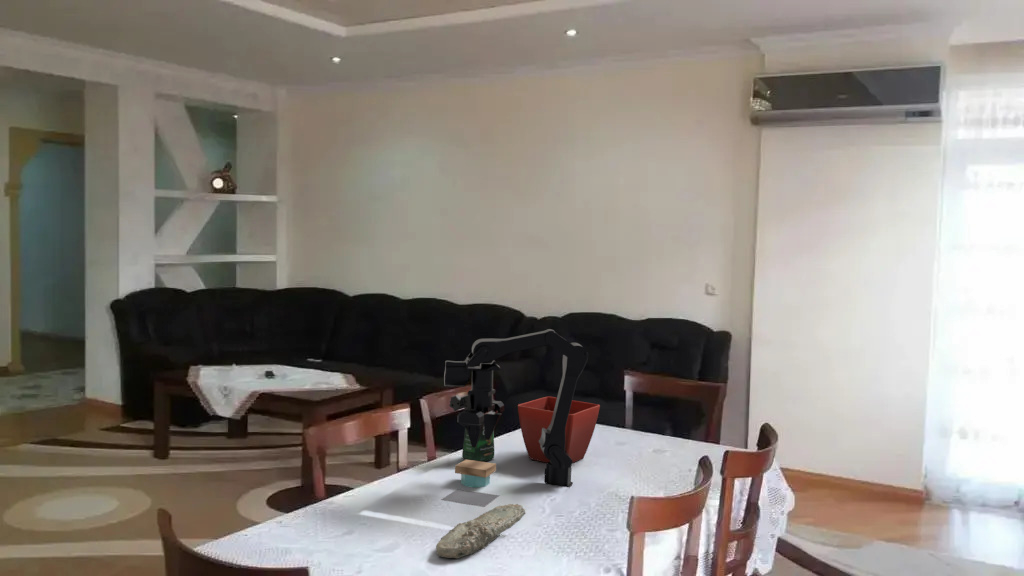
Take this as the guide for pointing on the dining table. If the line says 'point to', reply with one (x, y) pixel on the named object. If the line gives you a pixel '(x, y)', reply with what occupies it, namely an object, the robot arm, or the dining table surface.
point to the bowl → (474, 480)
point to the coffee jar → (478, 447)
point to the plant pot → (576, 428)
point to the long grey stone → (478, 531)
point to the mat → (470, 497)
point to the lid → (475, 468)
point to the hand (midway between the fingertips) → (480, 443)
